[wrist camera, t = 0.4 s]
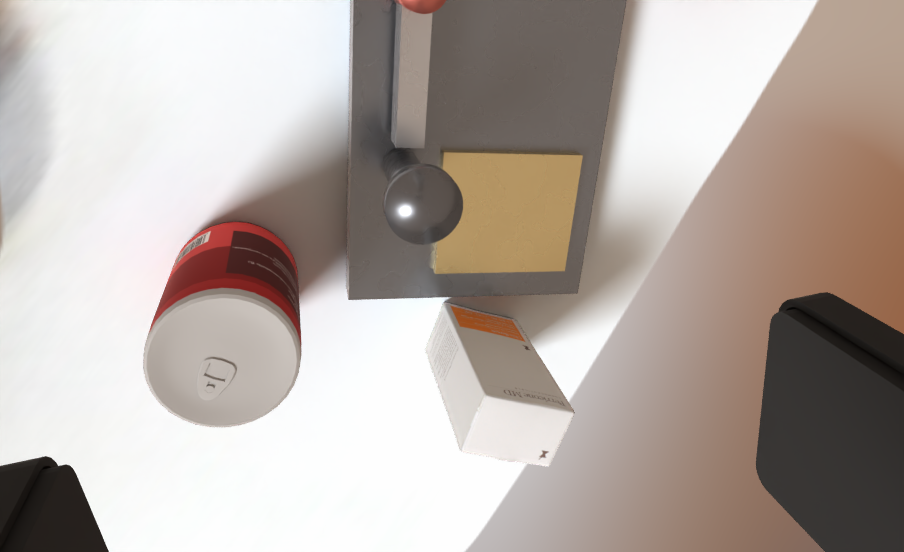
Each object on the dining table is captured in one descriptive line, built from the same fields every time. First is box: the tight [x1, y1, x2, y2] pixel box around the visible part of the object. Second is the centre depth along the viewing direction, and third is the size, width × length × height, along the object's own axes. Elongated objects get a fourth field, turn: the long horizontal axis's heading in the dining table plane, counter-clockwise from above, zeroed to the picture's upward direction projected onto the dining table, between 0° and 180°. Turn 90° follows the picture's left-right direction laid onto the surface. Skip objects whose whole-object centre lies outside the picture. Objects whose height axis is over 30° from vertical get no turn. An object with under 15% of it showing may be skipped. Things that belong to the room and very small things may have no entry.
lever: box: [391, 0, 446, 148], centre depth 36 cm, size 10×3×4 cm, turn 175°
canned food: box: [143, 222, 301, 427], centre depth 39 cm, size 8×8×11 cm
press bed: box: [346, 0, 626, 300], centre depth 39 cm, size 20×16×10 cm
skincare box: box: [425, 302, 575, 467], centre depth 44 cm, size 6×4×12 cm
